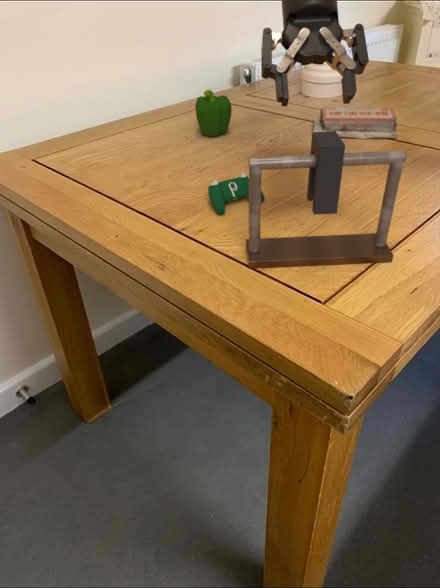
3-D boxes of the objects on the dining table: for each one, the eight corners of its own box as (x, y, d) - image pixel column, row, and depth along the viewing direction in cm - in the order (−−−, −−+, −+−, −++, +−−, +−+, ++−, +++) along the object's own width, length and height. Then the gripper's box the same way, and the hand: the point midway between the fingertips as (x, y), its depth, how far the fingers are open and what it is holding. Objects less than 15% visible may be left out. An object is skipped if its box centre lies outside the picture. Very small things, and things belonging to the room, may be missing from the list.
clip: (306, 197, 65) (312, 132, 59) (328, 196, 65) (335, 130, 59) (313, 214, 60) (320, 145, 55) (336, 213, 60) (345, 144, 55)
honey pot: (308, 84, 141) (313, 15, 129) (350, 87, 136) (359, 16, 125) (294, 95, 132) (298, 22, 120) (339, 99, 127) (348, 23, 116)
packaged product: (395, 103, 106) (401, 117, 99) (391, 125, 109) (396, 140, 102) (315, 102, 109) (314, 115, 101) (313, 123, 112) (312, 138, 104)
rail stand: (379, 239, 70) (399, 142, 61) (392, 262, 65) (415, 159, 56) (245, 245, 70) (245, 149, 61) (248, 268, 65) (249, 167, 56)
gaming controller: (258, 207, 83) (246, 176, 83) (267, 199, 79) (254, 167, 80) (213, 220, 80) (200, 188, 80) (219, 212, 76) (206, 179, 77)
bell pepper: (217, 124, 114) (215, 81, 108) (238, 133, 108) (237, 88, 102) (188, 132, 110) (185, 87, 104) (209, 142, 105) (206, 95, 98)
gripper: (259, -27, 61) (267, 89, 59) (367, -31, 61) (378, 84, 59) (255, 14, 69) (261, 118, 67) (351, 10, 69) (361, 114, 67)
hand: (316, 102), depth 63 cm, fingers open, 8 cm apart
